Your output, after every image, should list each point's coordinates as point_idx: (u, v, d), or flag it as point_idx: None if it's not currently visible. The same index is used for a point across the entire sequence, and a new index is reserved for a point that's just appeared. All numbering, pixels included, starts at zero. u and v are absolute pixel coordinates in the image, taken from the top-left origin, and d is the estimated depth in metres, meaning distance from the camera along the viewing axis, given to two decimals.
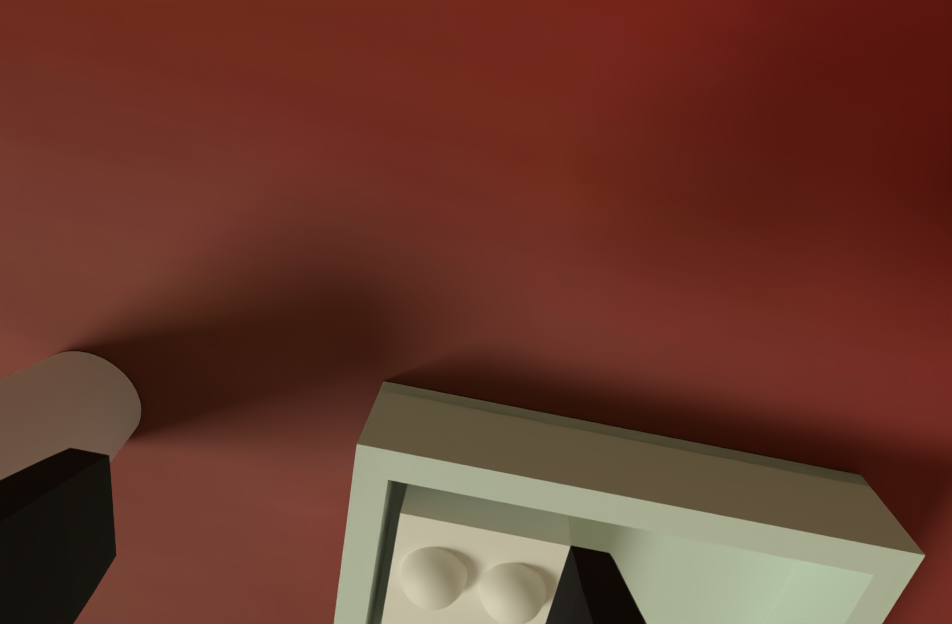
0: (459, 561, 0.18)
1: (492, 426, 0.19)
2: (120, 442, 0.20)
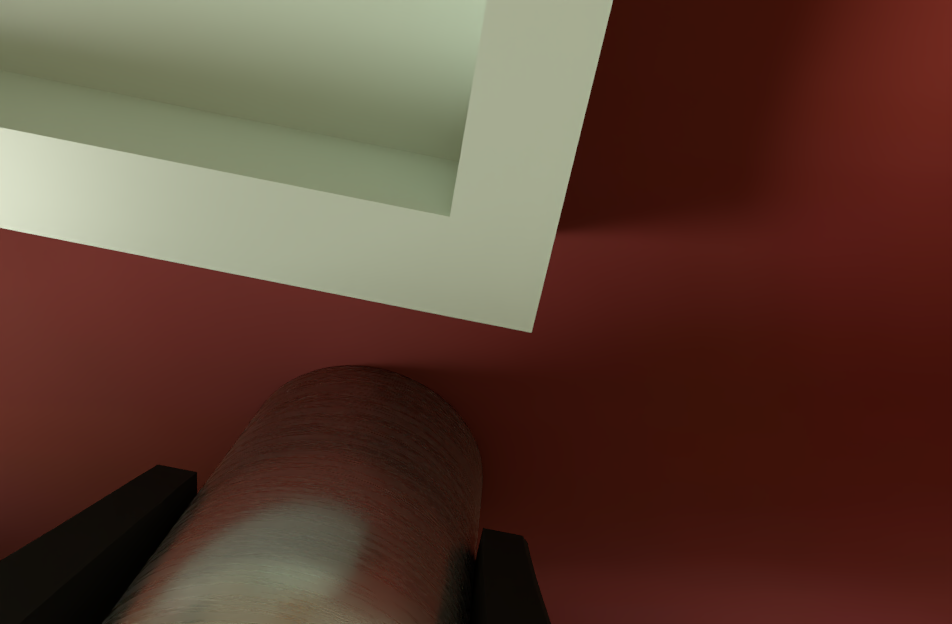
0: None
1: None
2: None
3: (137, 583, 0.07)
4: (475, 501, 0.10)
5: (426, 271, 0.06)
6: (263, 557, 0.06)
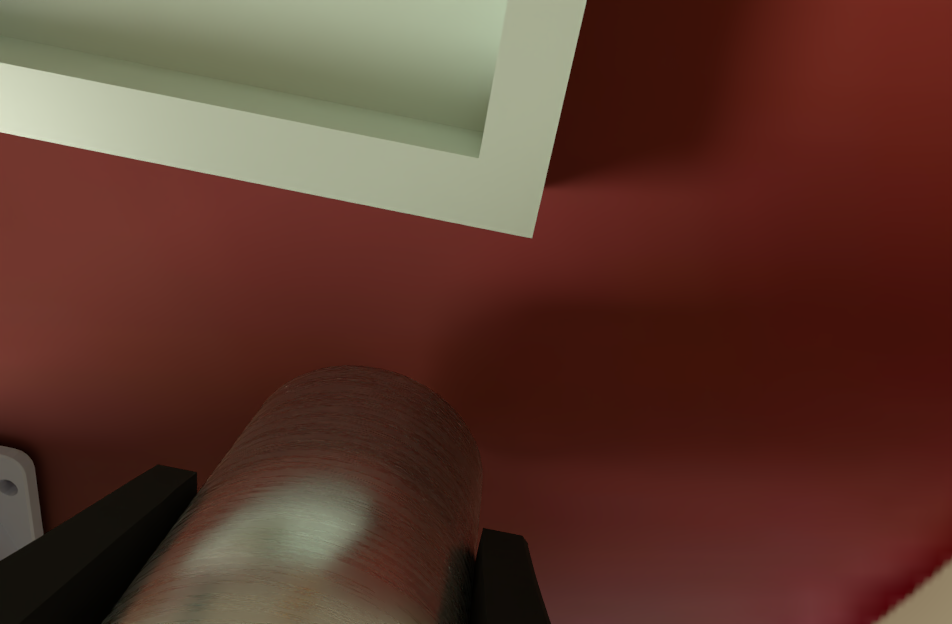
0: None
1: None
2: None
3: (137, 582, 0.07)
4: (475, 500, 0.10)
5: (462, 196, 0.09)
6: (262, 557, 0.06)
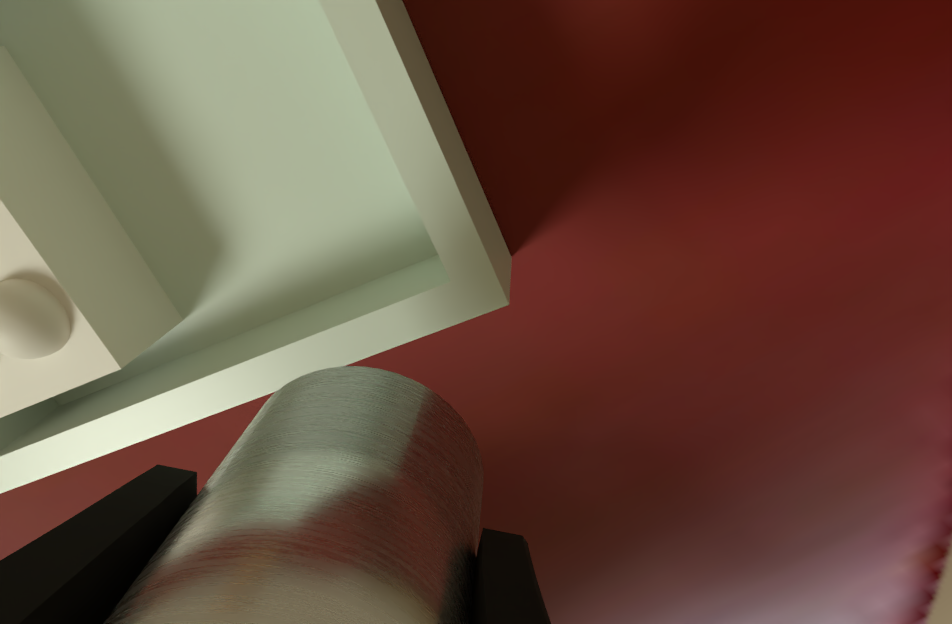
0: None
1: None
2: None
3: (138, 584, 0.07)
4: (475, 501, 0.10)
5: (456, 305, 0.14)
6: (263, 558, 0.06)
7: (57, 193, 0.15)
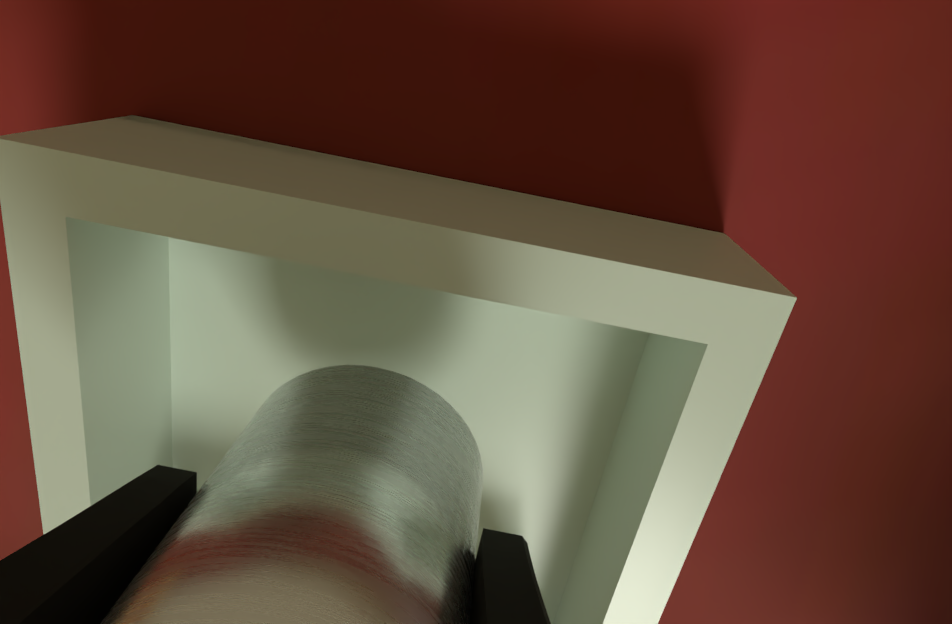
0: None
1: None
2: None
3: (136, 583, 0.07)
4: (475, 500, 0.10)
5: (741, 359, 0.09)
6: (262, 556, 0.06)
7: None
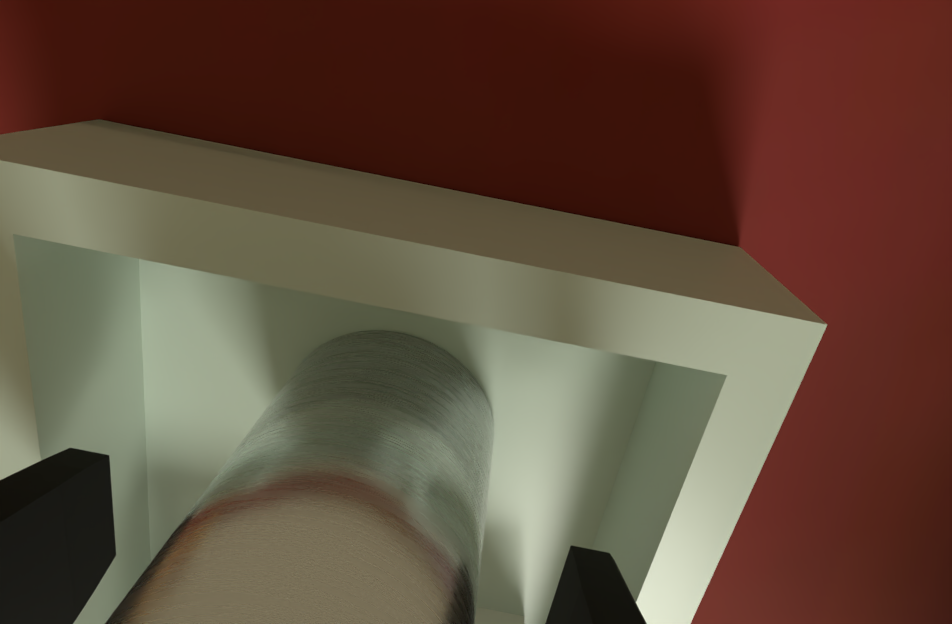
0: None
1: None
2: None
3: (207, 494, 0.08)
4: (488, 450, 0.11)
5: (764, 391, 0.08)
6: (314, 473, 0.08)
7: None
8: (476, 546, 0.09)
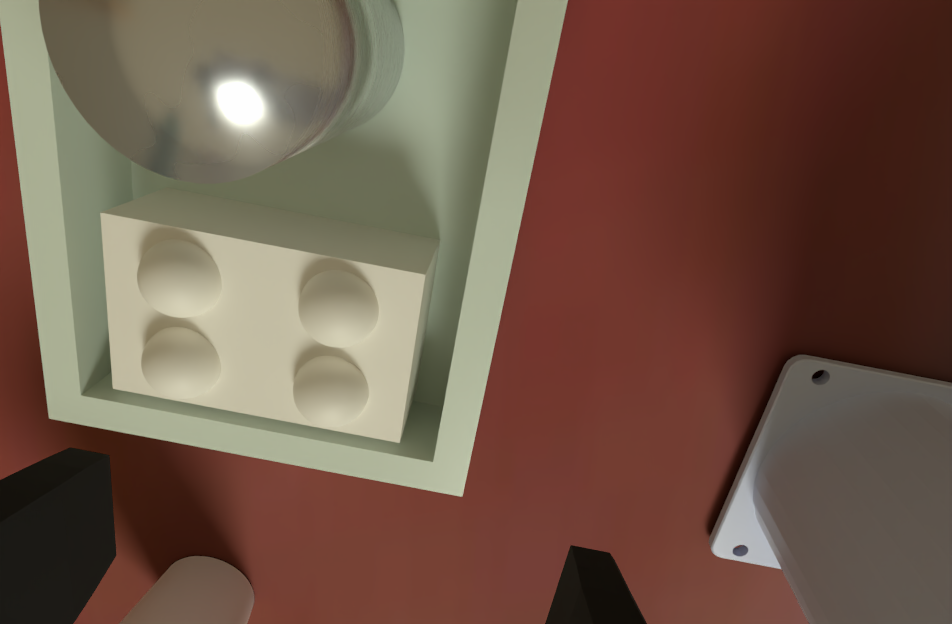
0: (153, 336, 0.16)
1: None
2: (200, 585, 0.23)
3: None
4: (392, 23, 0.14)
5: None
6: None
7: (274, 223, 0.16)
8: (369, 16, 0.12)
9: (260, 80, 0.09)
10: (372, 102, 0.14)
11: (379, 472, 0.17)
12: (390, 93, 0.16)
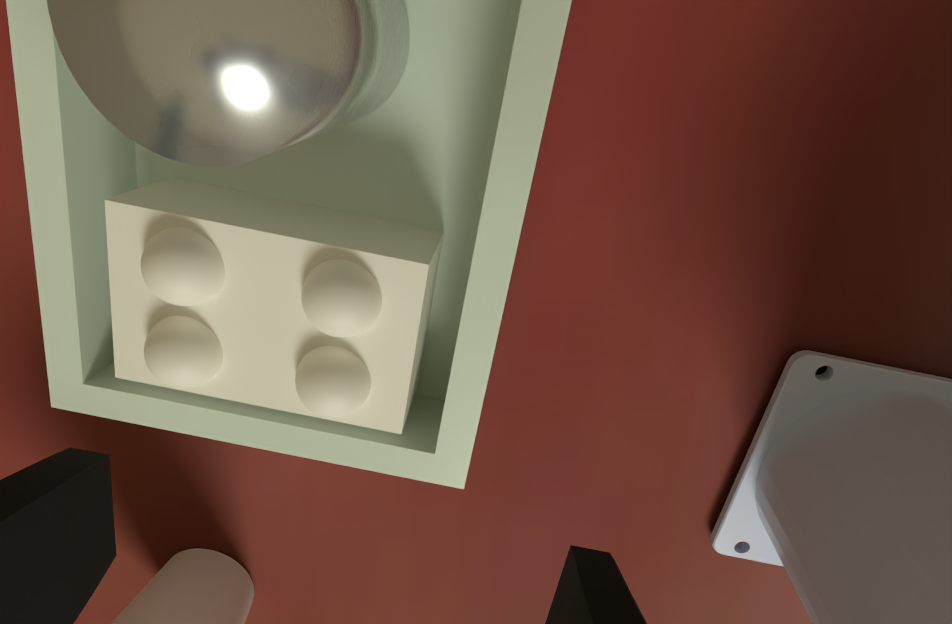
0: (156, 324, 0.16)
1: None
2: (200, 577, 0.22)
3: None
4: (398, 12, 0.14)
5: None
6: None
7: (277, 213, 0.16)
8: (375, 3, 0.12)
9: (266, 62, 0.09)
10: (377, 91, 0.14)
11: (381, 463, 0.17)
12: (395, 83, 0.16)
